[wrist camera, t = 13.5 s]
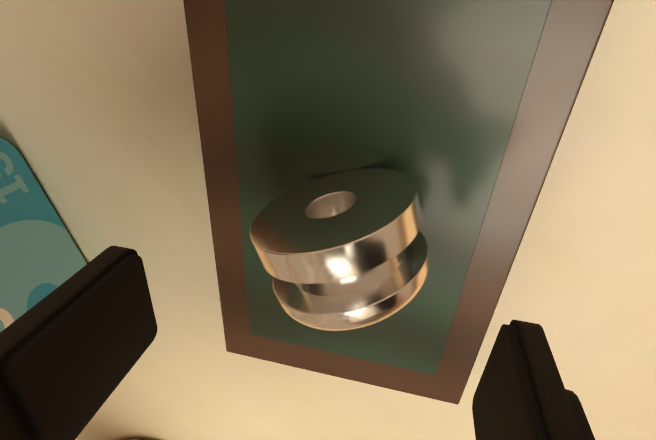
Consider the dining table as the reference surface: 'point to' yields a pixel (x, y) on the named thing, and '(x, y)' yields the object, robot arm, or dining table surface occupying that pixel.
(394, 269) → the metal grooved wheel
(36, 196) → the data package
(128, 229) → the dining table surface
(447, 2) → the desk pad
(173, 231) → the dining table surface
